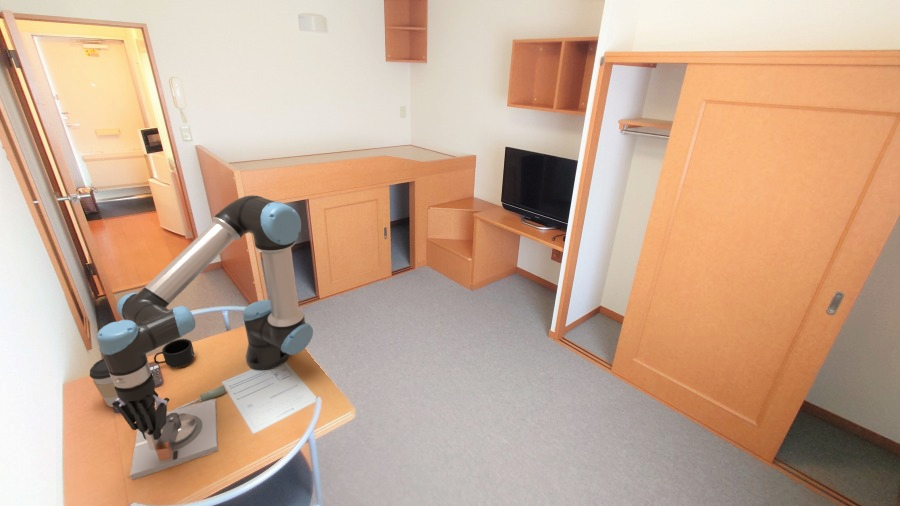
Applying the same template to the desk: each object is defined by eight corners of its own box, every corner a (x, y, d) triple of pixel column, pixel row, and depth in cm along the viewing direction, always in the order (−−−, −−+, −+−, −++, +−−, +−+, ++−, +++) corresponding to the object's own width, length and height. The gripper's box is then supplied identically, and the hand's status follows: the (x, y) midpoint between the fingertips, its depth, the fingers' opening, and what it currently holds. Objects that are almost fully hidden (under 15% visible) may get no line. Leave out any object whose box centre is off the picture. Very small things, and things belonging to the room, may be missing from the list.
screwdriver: (222, 383, 136) (225, 388, 134) (223, 388, 137) (226, 393, 136) (170, 405, 126) (173, 411, 125) (172, 410, 127) (174, 416, 126)
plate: (216, 403, 131) (214, 398, 130) (217, 450, 116) (216, 445, 115) (141, 424, 122) (139, 419, 121) (132, 480, 106) (129, 474, 106)
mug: (194, 350, 153) (190, 335, 150) (196, 364, 147) (192, 349, 144) (156, 361, 147) (151, 345, 144) (157, 376, 140) (151, 360, 137)
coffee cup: (118, 412, 126) (104, 375, 119) (94, 406, 127) (79, 369, 121) (144, 391, 134) (131, 356, 127) (121, 386, 135) (107, 350, 129)
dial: (161, 422, 120) (156, 407, 118) (199, 415, 124) (195, 400, 121) (144, 469, 107) (138, 454, 104) (188, 459, 110) (183, 444, 107)
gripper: (94, 389, 95) (121, 457, 105) (149, 391, 96) (172, 459, 106) (117, 367, 102) (141, 433, 112) (169, 369, 102) (188, 435, 112)
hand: (156, 446), depth 109 cm, fingers closed
